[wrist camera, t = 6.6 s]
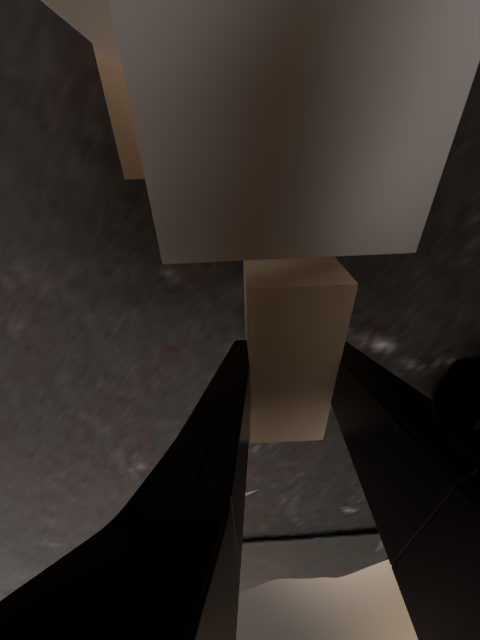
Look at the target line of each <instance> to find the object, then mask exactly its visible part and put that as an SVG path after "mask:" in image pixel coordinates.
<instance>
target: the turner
mask: <svg viewBox="0 0 480 640" xmlns="http://www.w3.org/2000/svg"><path fill="white" fill-rule="evenodd" d="M108 2H109V6H110V11H111V16H112V21H113V26H114V31H115V36H116V40H117V45H118V50H119V55H120V60H121V65H122V70H123V74H124V79H125V84H126V89H127V94H128V99H129V104H130V109H131V113H132V118H133V123H134V128H135V133H136V138H137V143H138V147H139V152H140V157H141V162H142V167H143V172H144V177H145V181H146V186H147V191H148V196H149V201H150V206H151V211H152V216H153V220H154V225H155V230H156V235H157V240H158V245H159V250H160V254H161V259H162V264H179V263H201V262H223V261H243V268H244V301H245V333H246V340H247V348H248V358H249V364H250V395H251V414H250V438H251V443H271V442H291V441H312V440H323V437H324V433H325V428H326V424H327V419H328V415H329V411H330V406H331V399H332V395H333V391H334V386H335V382H336V377H337V373H338V368H339V364H340V360H341V358H342V354H343V349H344V345H345V340H346V336H347V332H348V327H349V323H350V318H351V314H352V310H353V305H354V301H355V296H356V292H357V288H358V283H357V282H356V281H355V280H354V278H353V277H352V276H351V275H350V274H349V273H348V272H347V270H346V269H345V268H344V267H343V266H342V265H341V263H340V262H339V261H338V260H337V259H336V258H335V257H334V256H355V255H377V254H400V253H416V250H417V247H418V244H419V241H420V238H421V235H422V232H423V229H424V226H425V223H426V220H427V217H428V214H429V211H430V208H431V205H432V202H433V199H434V196H435V193H436V190H437V187H438V184H439V181H440V178H441V175H442V172H443V169H444V166H445V163H446V160H447V157H448V154H449V151H450V148H451V145H452V142H453V139H454V136H455V133H456V130H457V127H458V124H459V121H460V118H461V115H462V112H463V109H464V106H465V103H466V100H467V97H468V94H469V91H470V88H471V85H472V82H473V79H474V76H475V73H476V70H477V67H478V64H479V61H480V0H108Z"/></svg>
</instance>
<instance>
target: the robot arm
mask: <svg viewBox="0 0 480 640" xmlns="http://www.w3.org/2000/svg"><path fill="white" fill-rule="evenodd" d="M331 405H332V408H333V411H334V413H335V416H336V419H337V421H338V424H339V427H340V430H341V432H342V435H343V438H344V440H345V443H346V446H347V448H348V451H349V454H350V456H351V459H352V462H353V464H354V467H355V470H356V473H357V475H358V478H359V481H360V483H361V486H362V489H363V491H364V494H365V497H366V499H367V502H368V505H369V507H370V510H371V513H372V516H373V518H374V521H375V524H376V526H377V529H378V532H379V534H380V537H381V540H382V542H383V545H384V548H385V550H386V553H387V556H388V559H389V561H390V564H391V565H392V569H393V572H394V575H395V578H396V581H397V583H398V586H399V589H400V591H401V594H402V596H403V599H404V602H405V605H406V607H407V610H408V613H409V615H410V618H411V621H412V623H413V626H414V629H415V631H416V634H417V637H418V640H480V360H472V361H459V362H457V363H455V364H454V365H453V367H452V369H451V371H450V372H449V374H448V376H447V378H446V380H445V382H444V383H443V385H442V387H441V389H440V391H439V392H438V394H437V396H436V398H435V400H434V402H432V400H431V399H429V398H428V397H426V396H425V395H423V394H422V393H420V392H419V391H417V390H416V389H415V388H413V387H412V386H410V385H409V384H407V383H406V382H404V381H403V380H401V379H400V378H398V377H397V376H395V375H394V374H393V373H391V372H390V371H388V370H387V369H385V368H384V367H382V366H381V365H379V364H378V363H376V362H375V361H373V360H372V359H371V358H369V357H368V356H366V355H365V354H363V353H362V352H360V351H359V350H357V349H356V348H354V347H353V346H351V345H350V344H349V343H347V342H346V341H345V345H344V349H343V354H342V358H341V360H340V364H339V368H338V373H337V377H336V382H335V386H334V391H333V395H332V399H331ZM250 414H251V395H250V364H249V358H248V348H247V340H236V341H235V342H234V343H233V345H232V346H231V348H230V350H229V352H228V353H227V355H226V357H225V358H224V360H223V362H222V363H221V365H220V367H219V368H218V370H217V372H216V373H215V375H214V377H213V378H212V380H211V382H210V383H209V385H208V387H207V388H206V390H205V392H204V394H203V395H202V397H201V399H200V400H199V402H198V404H197V405H196V407H195V409H194V410H193V412H192V414H191V415H190V417H189V419H188V420H187V422H186V424H185V425H184V427H183V428H182V430H181V431H180V433H179V435H178V436H177V438H176V439H175V441H174V442H173V443H172V445H171V446H170V448H169V449H168V450H167V452H166V453H165V454H164V456H163V457H162V458H161V460H160V461H159V462H158V464H157V465H156V466H155V468H154V469H153V470H152V472H151V473H150V474H149V475H148V477H147V478H146V479H145V481H144V482H143V483H142V485H141V486H140V487H139V488H138V490H137V491H136V492H135V494H134V495H133V496H132V498H131V499H130V500H129V501H128V503H127V504H126V505H125V506H124V508H123V509H122V510H121V511H120V512H119V513H118V514H117V515H116V517H115V518H113V519H112V520H111V521H110V522H109V523H108V524H107V525H106V526H105V527H104V528H103V529H101V530H100V531H99V532H97V533H96V534H95V535H93V536H92V537H90V538H89V539H88V540H86V541H85V542H83V543H82V544H81V545H79V546H78V547H76V548H75V549H73V550H72V551H71V552H69V553H68V554H66V555H65V556H63V557H62V558H61V559H59V560H58V561H56V562H55V563H54V564H52V565H51V566H49V567H48V568H46V569H45V570H44V571H42V572H41V573H39V574H38V575H37V576H35V577H34V578H32V579H31V580H29V581H28V582H27V583H25V584H24V585H22V586H21V587H19V588H18V589H17V590H15V591H14V592H12V593H11V594H10V595H8V596H7V597H5V598H4V599H2V600H1V601H0V640H236V630H237V614H238V598H239V584H240V568H241V552H242V537H243V522H244V506H245V491H246V475H247V460H248V444H249V429H250Z"/></svg>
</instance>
